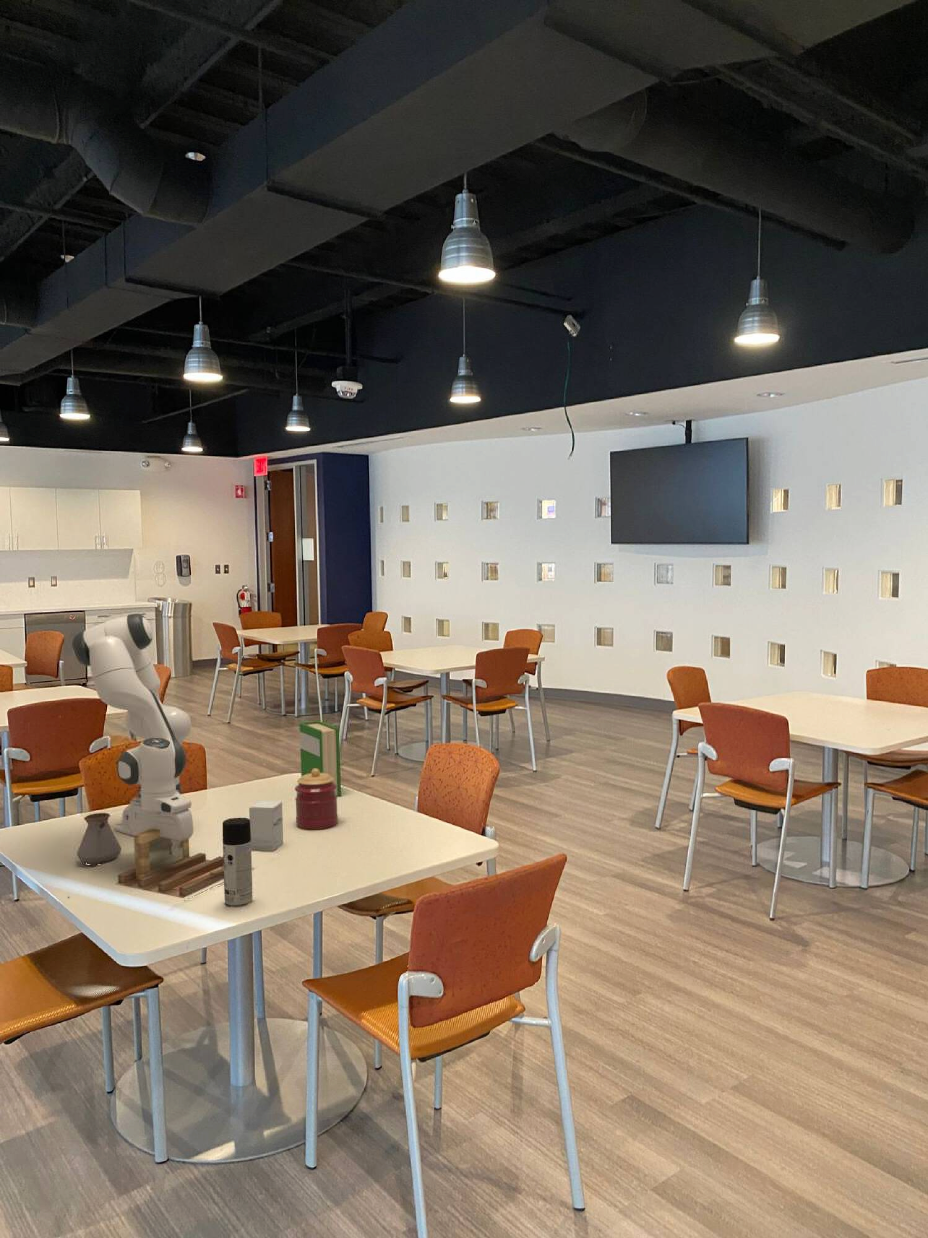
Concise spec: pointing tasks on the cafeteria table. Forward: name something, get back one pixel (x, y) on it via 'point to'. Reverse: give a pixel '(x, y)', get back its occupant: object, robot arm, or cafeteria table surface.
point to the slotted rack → (178, 877)
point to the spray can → (237, 861)
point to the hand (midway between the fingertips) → (160, 852)
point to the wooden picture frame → (155, 852)
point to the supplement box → (266, 825)
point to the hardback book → (320, 750)
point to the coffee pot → (98, 841)
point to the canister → (316, 801)
